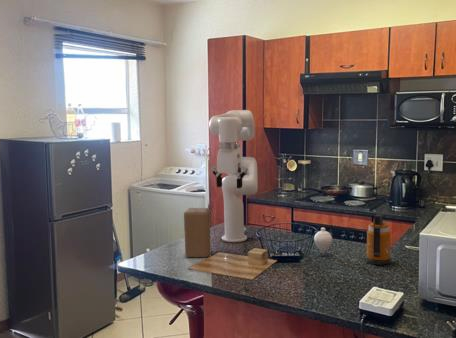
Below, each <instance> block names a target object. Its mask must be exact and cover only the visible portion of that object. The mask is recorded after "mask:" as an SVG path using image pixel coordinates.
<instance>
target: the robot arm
mask: <svg viewBox="0 0 456 338" xmlns="http://www.w3.org/2000/svg"><path fill="white" fill-rule="evenodd" d="M208 129H209V131H210V133H211V134H212V135H215V136H217V135H218V139H219V140H218V141H219V142H218V143H219V145H218V146H219V150H218V151H217V158H216V163H215V164H214V165H212V166H211V167H210V169H211V171H212V174H213V175H214V178H216V179H215V180H216V187H217V188H221V190H222V195H223V219H224V220H223V221H224V234H223V235H222V236H221V240H222V241H223V242H226V243H241V242H245V241H247V240H248V236H247V235H246V234H245V232H247V227H245V217H244V216H245V215H244V214H245V213H244V212H245V211H244V207H245V206H244V202H243V200H242V199H241V197H240V196H251V195H256V194H257V193H258V189H259V180H258V179H259V178H258V177H259V176H258V174H259V173H258V163H257V160H256V158H255V157H253V156H243V149H242V148H241V144H240V143H238V142H239V141H240V142H243V141H252V140H253V139H254V138H255V135H256V129H255V117H254V114H253V112H252V111H251V110H249V109H232V110H228V111H227V112H225V113H222V114H217V115H213V116H212V117H211V118H210V120H209V128H208ZM224 174H225V176H224V177H222V175H224Z"/></svg>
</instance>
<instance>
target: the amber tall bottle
mask: <svg viewBox="0 0 456 338" xmlns="http://www.w3.org/2000/svg"><path fill="white" fill-rule="evenodd" d="M383 218H384V214H383V213H376V214H375V215H374V218H373V222H370V223H369V224H368V230H366V262H368V263H370V264H372V265H377V266H385V265H387V264H389V263H390V262H391V231H390V226H389V223H388V222H387V221H385V220H383Z"/></svg>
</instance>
